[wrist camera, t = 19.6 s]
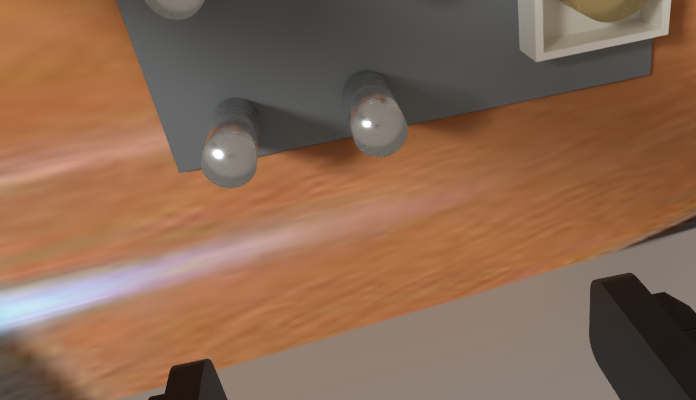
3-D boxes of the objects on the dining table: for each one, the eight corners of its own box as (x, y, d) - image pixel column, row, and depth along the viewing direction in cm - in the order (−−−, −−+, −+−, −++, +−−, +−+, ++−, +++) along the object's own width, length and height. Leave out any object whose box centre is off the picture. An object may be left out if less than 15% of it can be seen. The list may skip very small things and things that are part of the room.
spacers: (156, -56, 35) (130, -40, 29) (359, -99, 35) (376, -92, 29) (220, 145, 42) (210, 192, 35) (392, 109, 41) (410, 151, 35)
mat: (93, -71, 35) (90, -70, 34) (664, -191, 35) (669, -192, 34) (180, 169, 43) (179, 173, 42) (646, 72, 42) (650, 74, 42)
